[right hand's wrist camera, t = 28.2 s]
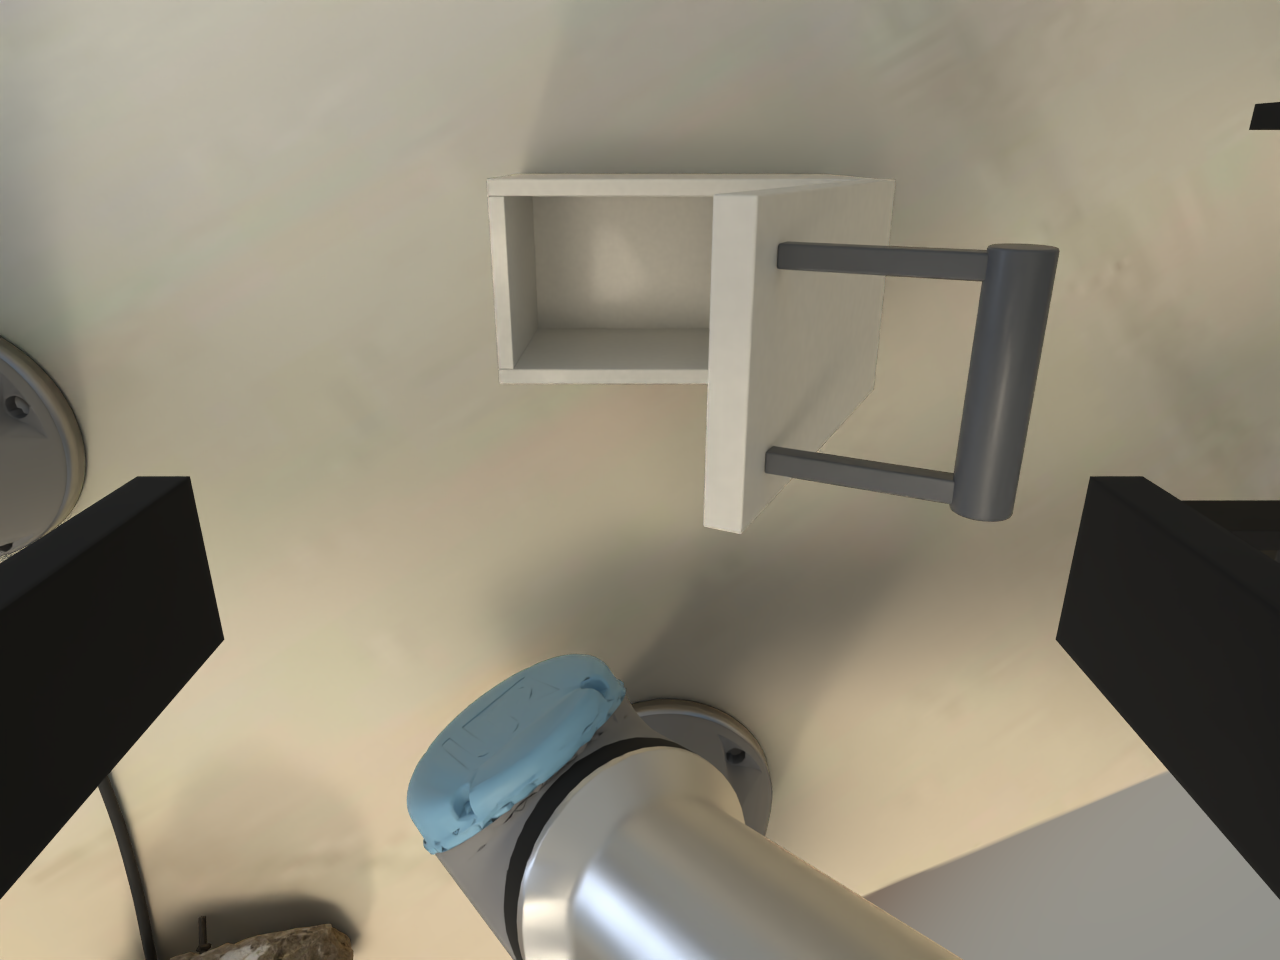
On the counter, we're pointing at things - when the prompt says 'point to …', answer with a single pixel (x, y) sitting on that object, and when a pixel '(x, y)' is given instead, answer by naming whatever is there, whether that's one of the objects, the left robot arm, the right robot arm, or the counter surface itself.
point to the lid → (852, 349)
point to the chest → (608, 273)
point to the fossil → (278, 945)
